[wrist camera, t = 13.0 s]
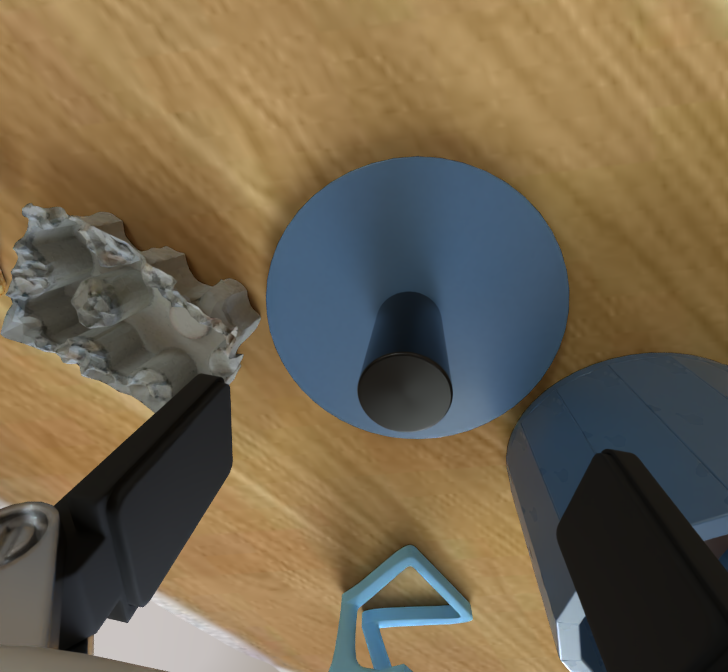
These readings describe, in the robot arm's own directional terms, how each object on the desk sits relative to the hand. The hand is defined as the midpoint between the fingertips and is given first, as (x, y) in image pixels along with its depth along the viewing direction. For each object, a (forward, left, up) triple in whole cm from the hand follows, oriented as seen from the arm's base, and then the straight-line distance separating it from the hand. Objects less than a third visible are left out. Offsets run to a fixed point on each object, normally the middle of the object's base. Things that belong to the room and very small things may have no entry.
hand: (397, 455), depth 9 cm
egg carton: (+2, -13, -10) cm, 16 cm away
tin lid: (0, 0, -9) cm, 9 cm away
